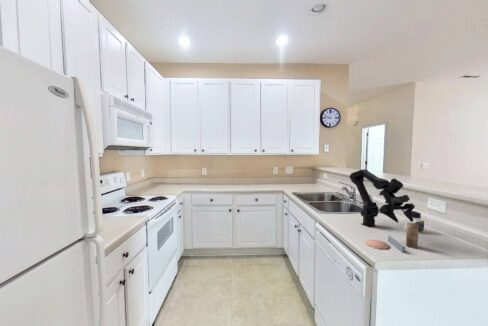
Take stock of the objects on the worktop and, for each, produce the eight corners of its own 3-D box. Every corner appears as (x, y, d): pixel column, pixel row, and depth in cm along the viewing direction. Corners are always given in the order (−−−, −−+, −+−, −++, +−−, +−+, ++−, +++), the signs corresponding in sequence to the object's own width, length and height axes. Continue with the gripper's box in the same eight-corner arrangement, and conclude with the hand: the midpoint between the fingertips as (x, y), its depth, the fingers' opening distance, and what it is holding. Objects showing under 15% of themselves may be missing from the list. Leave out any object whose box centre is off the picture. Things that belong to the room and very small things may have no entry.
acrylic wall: (387, 241, 129) (387, 235, 129) (389, 241, 129) (390, 235, 129) (402, 252, 115) (402, 246, 115) (404, 252, 115) (404, 246, 115)
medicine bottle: (415, 232, 142) (416, 213, 141) (404, 228, 148) (405, 210, 148) (423, 231, 143) (425, 212, 143) (412, 227, 150) (413, 209, 149)
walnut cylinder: (403, 245, 124) (404, 223, 123) (409, 243, 126) (410, 222, 125) (413, 249, 119) (414, 226, 118) (419, 247, 121) (421, 225, 120)
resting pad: (364, 239, 131) (364, 238, 131) (386, 242, 127) (386, 241, 127) (367, 247, 121) (367, 246, 121) (391, 250, 117) (391, 249, 117)
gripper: (383, 190, 129) (399, 215, 119) (412, 189, 132) (430, 213, 122) (373, 201, 137) (386, 225, 127) (401, 200, 140) (416, 223, 130)
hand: (405, 221), depth 126 cm, fingers open, 9 cm apart
